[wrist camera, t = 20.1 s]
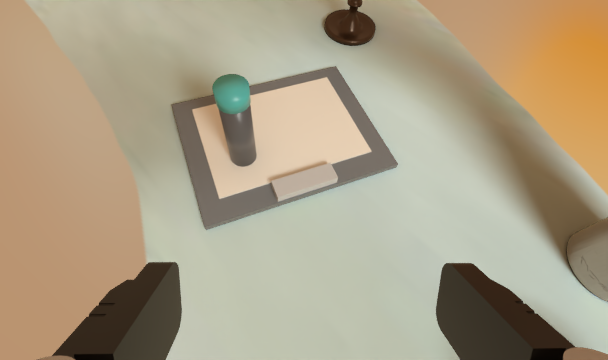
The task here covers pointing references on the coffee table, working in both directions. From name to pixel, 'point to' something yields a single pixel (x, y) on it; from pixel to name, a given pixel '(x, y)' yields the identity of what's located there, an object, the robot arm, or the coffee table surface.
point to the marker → (236, 117)
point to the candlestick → (350, 25)
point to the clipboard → (281, 146)
